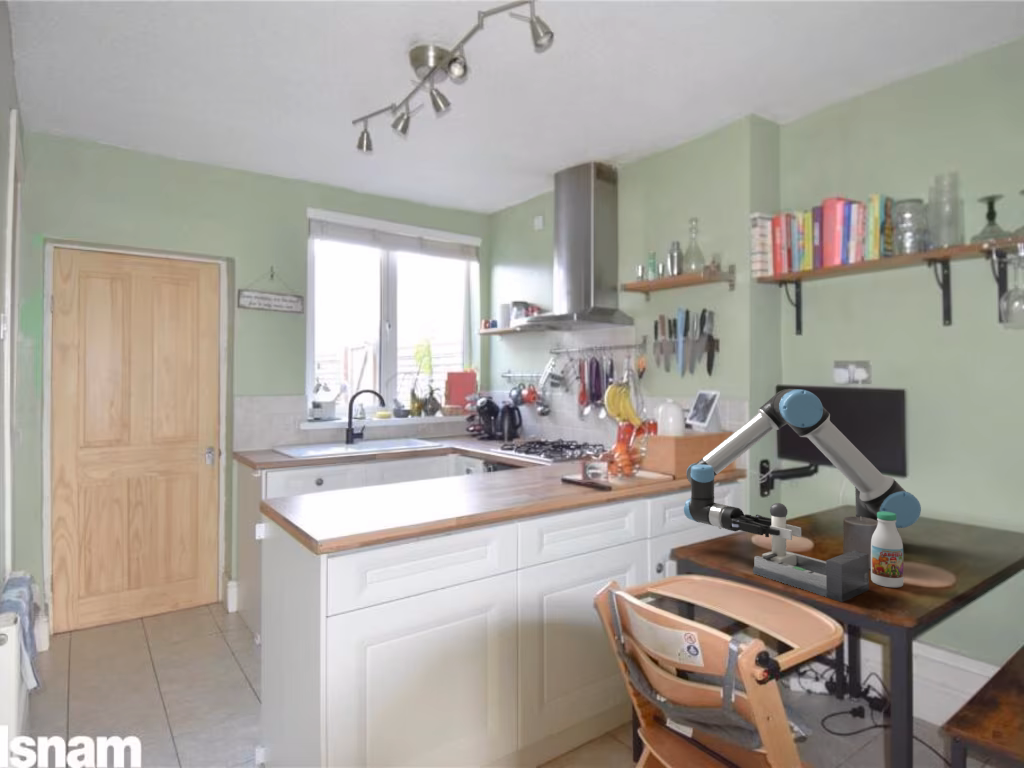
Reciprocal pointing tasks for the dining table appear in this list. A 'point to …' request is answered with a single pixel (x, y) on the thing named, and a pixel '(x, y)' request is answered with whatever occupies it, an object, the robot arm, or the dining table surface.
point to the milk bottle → (887, 552)
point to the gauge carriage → (778, 543)
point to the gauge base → (821, 574)
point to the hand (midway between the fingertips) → (795, 533)
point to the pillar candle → (858, 535)
